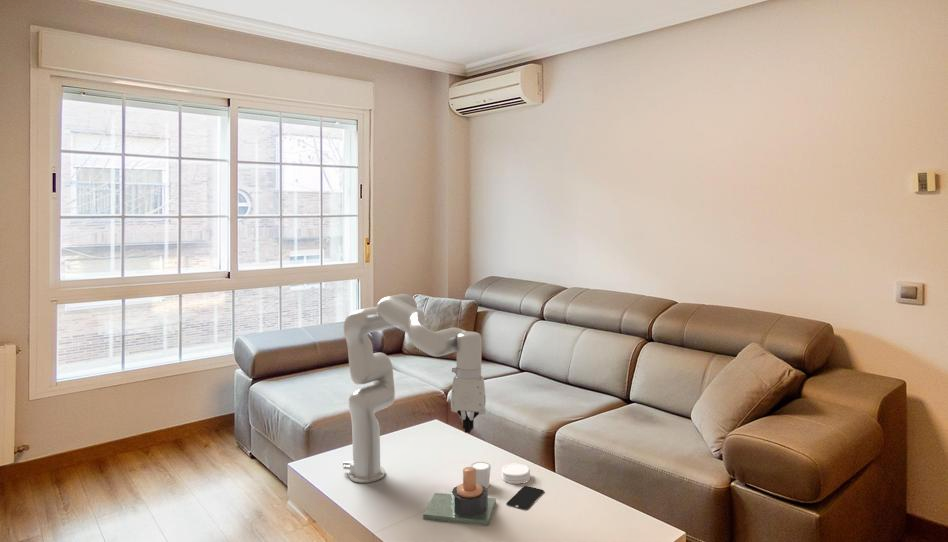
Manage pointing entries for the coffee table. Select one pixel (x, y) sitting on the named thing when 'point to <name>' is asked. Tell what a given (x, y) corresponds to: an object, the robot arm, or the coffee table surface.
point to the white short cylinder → (515, 473)
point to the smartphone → (525, 498)
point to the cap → (469, 484)
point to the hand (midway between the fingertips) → (468, 431)
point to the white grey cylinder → (482, 473)
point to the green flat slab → (461, 508)
